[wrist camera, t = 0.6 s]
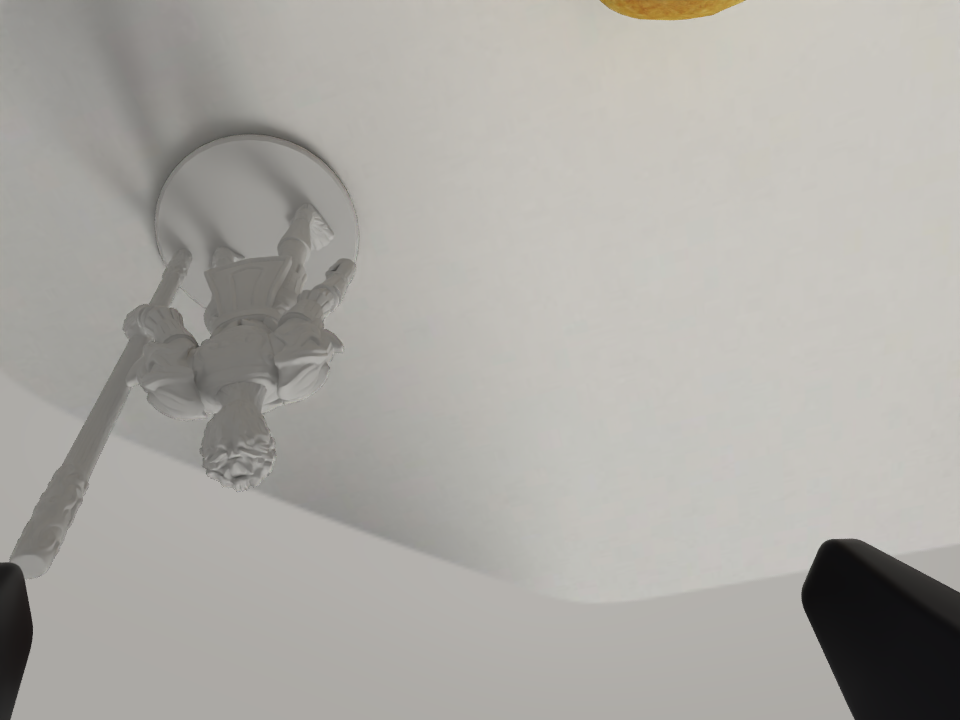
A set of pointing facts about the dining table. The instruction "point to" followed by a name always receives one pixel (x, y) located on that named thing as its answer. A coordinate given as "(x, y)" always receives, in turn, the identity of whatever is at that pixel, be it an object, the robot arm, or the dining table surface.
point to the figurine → (223, 316)
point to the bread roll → (668, 8)
